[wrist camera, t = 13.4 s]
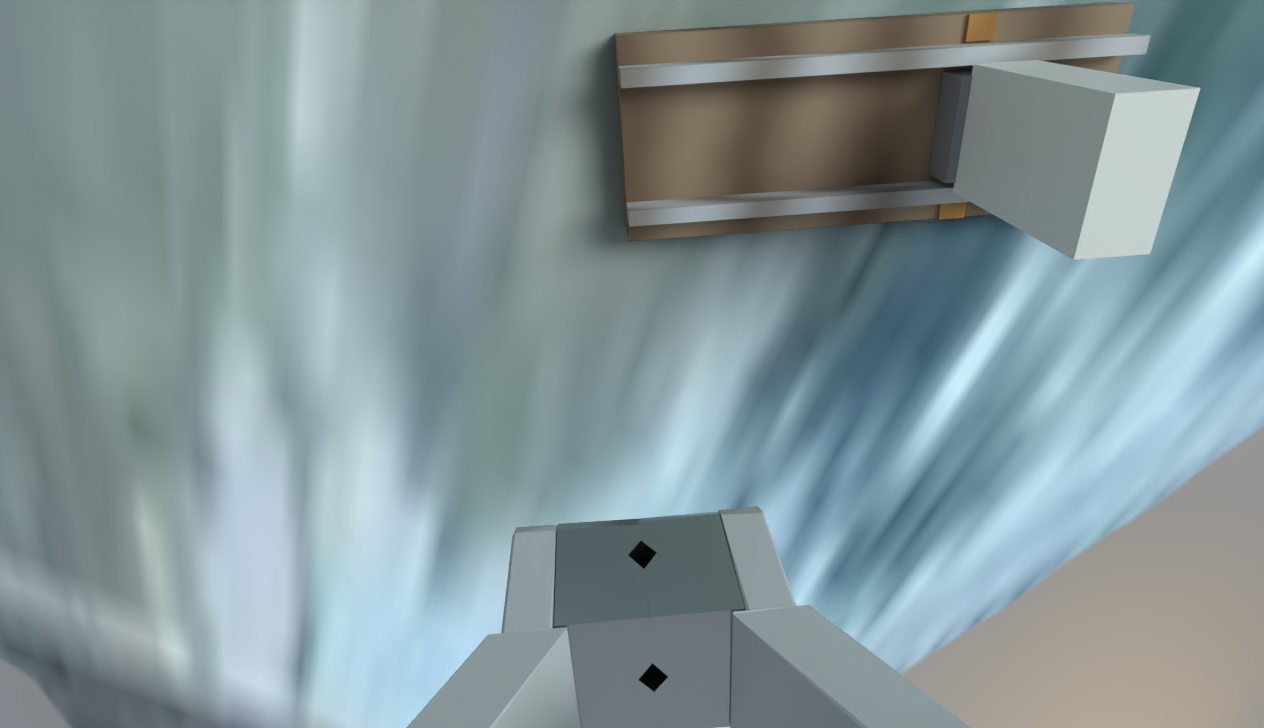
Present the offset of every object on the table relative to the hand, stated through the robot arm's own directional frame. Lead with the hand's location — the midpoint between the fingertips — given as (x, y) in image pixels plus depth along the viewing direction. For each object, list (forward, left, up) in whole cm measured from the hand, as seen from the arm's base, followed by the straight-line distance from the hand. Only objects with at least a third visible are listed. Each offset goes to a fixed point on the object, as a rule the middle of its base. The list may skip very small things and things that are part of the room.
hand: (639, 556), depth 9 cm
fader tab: (+1, +19, -30) cm, 36 cm away
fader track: (+1, +14, -32) cm, 35 cm away
